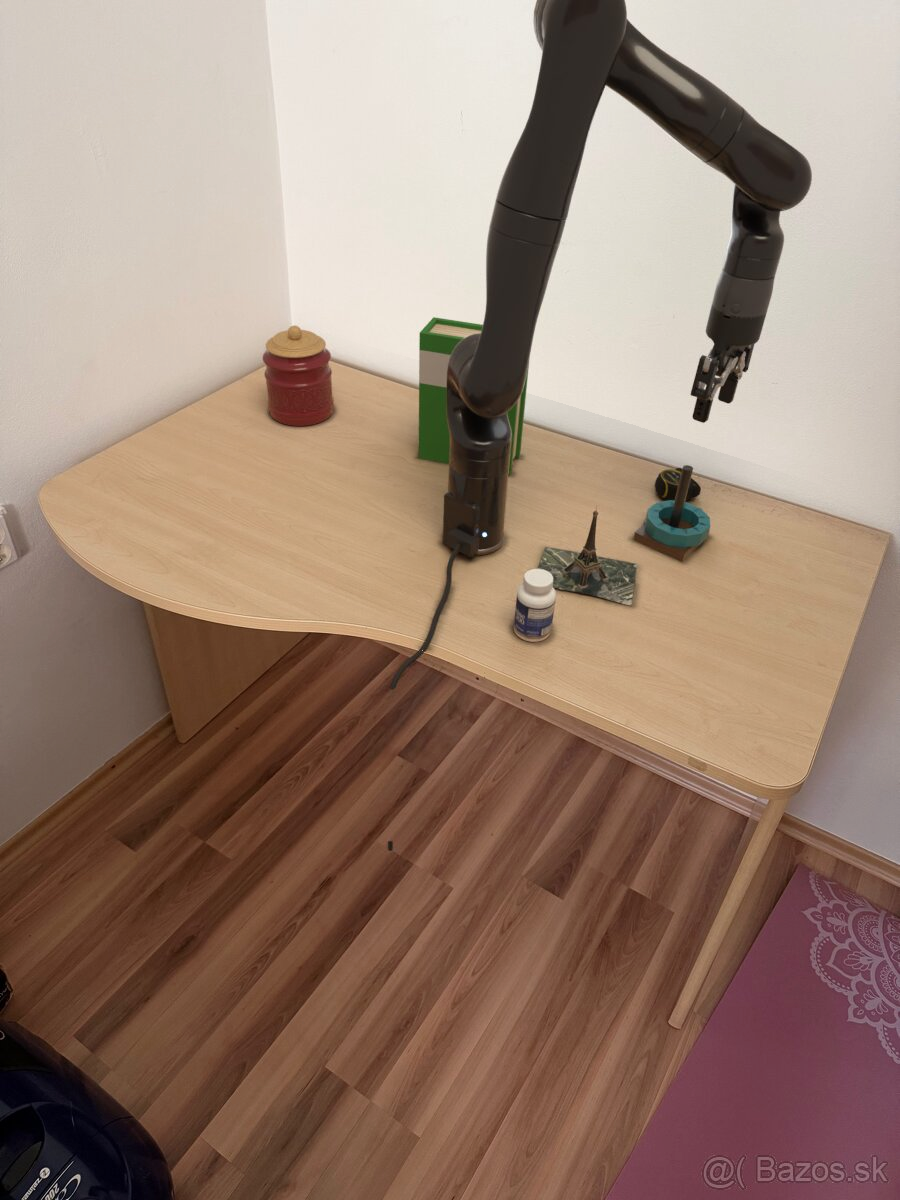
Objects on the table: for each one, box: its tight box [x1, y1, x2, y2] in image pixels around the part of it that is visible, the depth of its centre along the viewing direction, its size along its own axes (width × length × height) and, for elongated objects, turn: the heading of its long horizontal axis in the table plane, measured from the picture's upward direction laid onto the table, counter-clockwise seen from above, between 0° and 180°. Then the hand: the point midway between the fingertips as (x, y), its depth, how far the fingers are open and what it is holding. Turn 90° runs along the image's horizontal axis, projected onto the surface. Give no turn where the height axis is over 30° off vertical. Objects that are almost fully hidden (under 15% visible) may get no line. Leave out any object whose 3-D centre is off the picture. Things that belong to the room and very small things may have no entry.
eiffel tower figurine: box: [537, 506, 638, 607], centre depth 126 cm, size 15×10×13 cm
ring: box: [644, 500, 711, 548], centre depth 137 cm, size 10×10×2 cm
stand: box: [632, 464, 710, 562], centre depth 134 cm, size 9×9×14 cm
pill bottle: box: [513, 568, 557, 643], centre depth 117 cm, size 5×5×10 cm
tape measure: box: [654, 467, 702, 502], centre depth 147 cm, size 7×7×4 cm
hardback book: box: [417, 316, 531, 477], centre depth 149 cm, size 18×7×24 cm, turn 72°
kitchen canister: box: [262, 325, 335, 427], centre depth 163 cm, size 13×13×18 cm
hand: (712, 410), depth 127 cm, fingers open, 8 cm apart
